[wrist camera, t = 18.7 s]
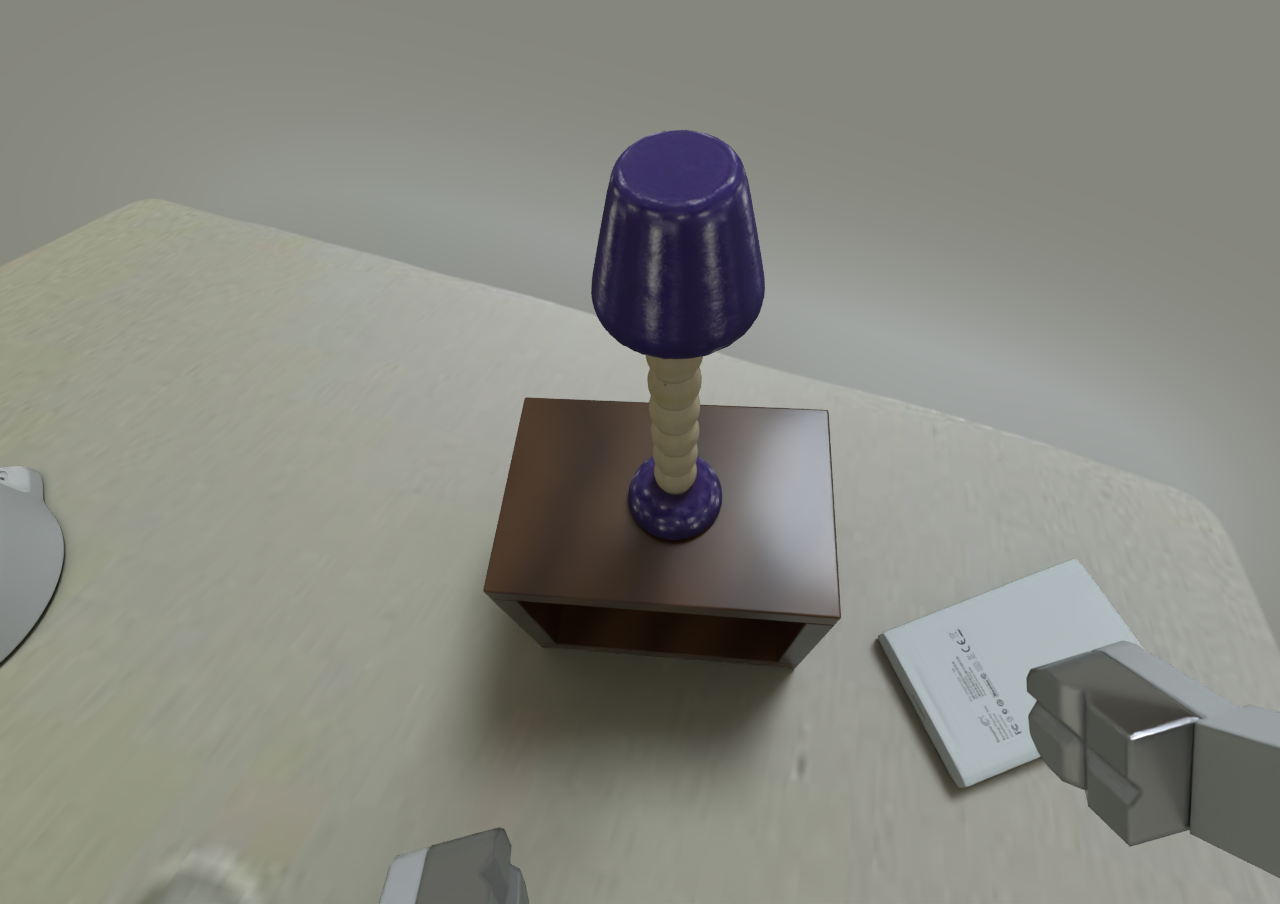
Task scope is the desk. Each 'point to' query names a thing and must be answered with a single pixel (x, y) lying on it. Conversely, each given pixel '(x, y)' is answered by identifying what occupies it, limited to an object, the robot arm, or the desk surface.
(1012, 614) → the hard drive
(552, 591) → the shelf
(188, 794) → the desk surface
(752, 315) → the toy lamp
